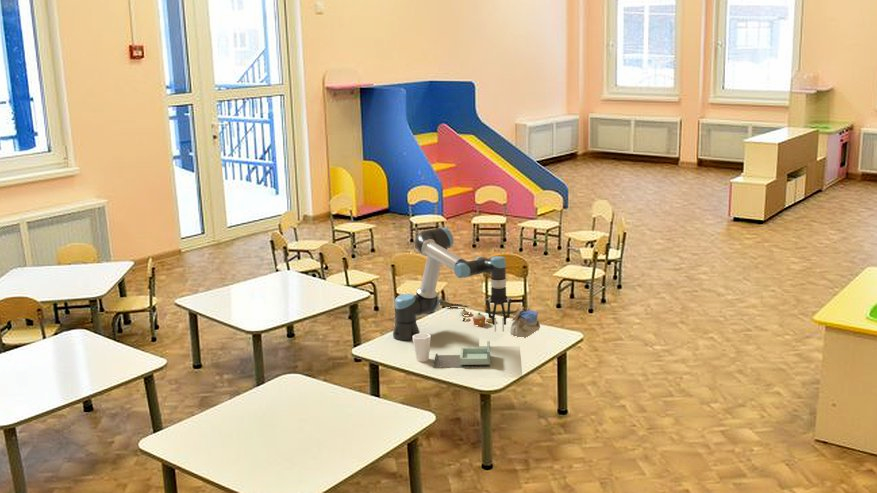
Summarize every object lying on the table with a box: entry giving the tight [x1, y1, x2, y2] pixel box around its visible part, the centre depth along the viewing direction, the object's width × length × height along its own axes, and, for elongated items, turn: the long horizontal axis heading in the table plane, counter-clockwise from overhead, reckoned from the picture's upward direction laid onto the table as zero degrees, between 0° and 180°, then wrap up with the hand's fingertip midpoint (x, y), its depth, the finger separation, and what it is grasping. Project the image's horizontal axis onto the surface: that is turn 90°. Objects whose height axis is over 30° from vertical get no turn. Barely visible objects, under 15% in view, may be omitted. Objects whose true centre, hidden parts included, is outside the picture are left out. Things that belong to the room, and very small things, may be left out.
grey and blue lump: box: [509, 306, 541, 339], centre depth 494 cm, size 26×16×16 cm, turn 150°
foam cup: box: [412, 332, 432, 363], centre depth 454 cm, size 10×9×13 cm
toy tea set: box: [459, 308, 497, 327], centre depth 514 cm, size 26×16×10 cm, turn 46°
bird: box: [439, 298, 469, 309], centre depth 537 cm, size 18×8×10 cm, turn 71°
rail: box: [432, 353, 491, 369], centre depth 451 cm, size 18×29×1 cm, turn 86°
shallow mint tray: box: [459, 340, 491, 365], centre depth 450 cm, size 17×15×7 cm
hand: (499, 330), depth 446 cm, fingers open, 3 cm apart
